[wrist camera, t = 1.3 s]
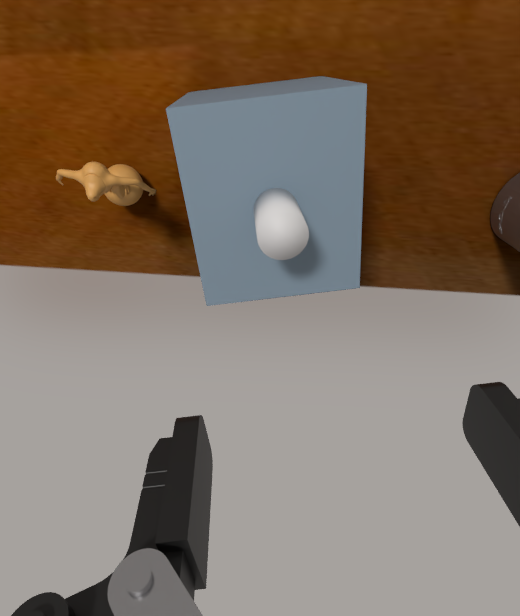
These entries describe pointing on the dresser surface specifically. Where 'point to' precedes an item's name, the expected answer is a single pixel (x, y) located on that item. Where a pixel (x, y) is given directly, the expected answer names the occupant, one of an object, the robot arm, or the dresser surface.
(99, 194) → the figurine
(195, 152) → the block with white knob
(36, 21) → the dresser surface
